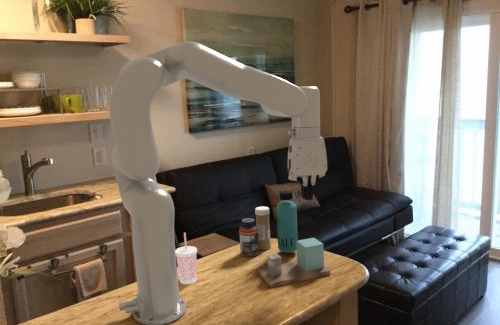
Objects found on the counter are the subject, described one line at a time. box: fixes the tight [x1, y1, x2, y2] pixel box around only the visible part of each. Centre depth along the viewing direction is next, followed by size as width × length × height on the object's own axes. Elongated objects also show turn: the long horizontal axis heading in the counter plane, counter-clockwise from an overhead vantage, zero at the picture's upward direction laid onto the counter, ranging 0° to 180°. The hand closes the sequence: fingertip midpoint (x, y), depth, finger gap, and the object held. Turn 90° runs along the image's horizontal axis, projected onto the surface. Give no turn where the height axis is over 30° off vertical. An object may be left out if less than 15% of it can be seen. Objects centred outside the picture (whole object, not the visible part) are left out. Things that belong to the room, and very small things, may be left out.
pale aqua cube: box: [296, 237, 325, 272], centre depth 125 cm, size 6×6×7 cm
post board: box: [256, 253, 331, 288], centre depth 124 cm, size 18×10×6 cm, turn 110°
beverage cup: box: [175, 232, 198, 285], centre depth 122 cm, size 6×6×14 cm
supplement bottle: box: [238, 217, 260, 258], centre depth 139 cm, size 6×6×11 cm
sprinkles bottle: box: [254, 206, 272, 251], centre depth 143 cm, size 5×5×14 cm
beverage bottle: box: [276, 190, 299, 253], centre depth 137 cm, size 6×7×20 cm
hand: (307, 198), depth 122 cm, fingers closed
